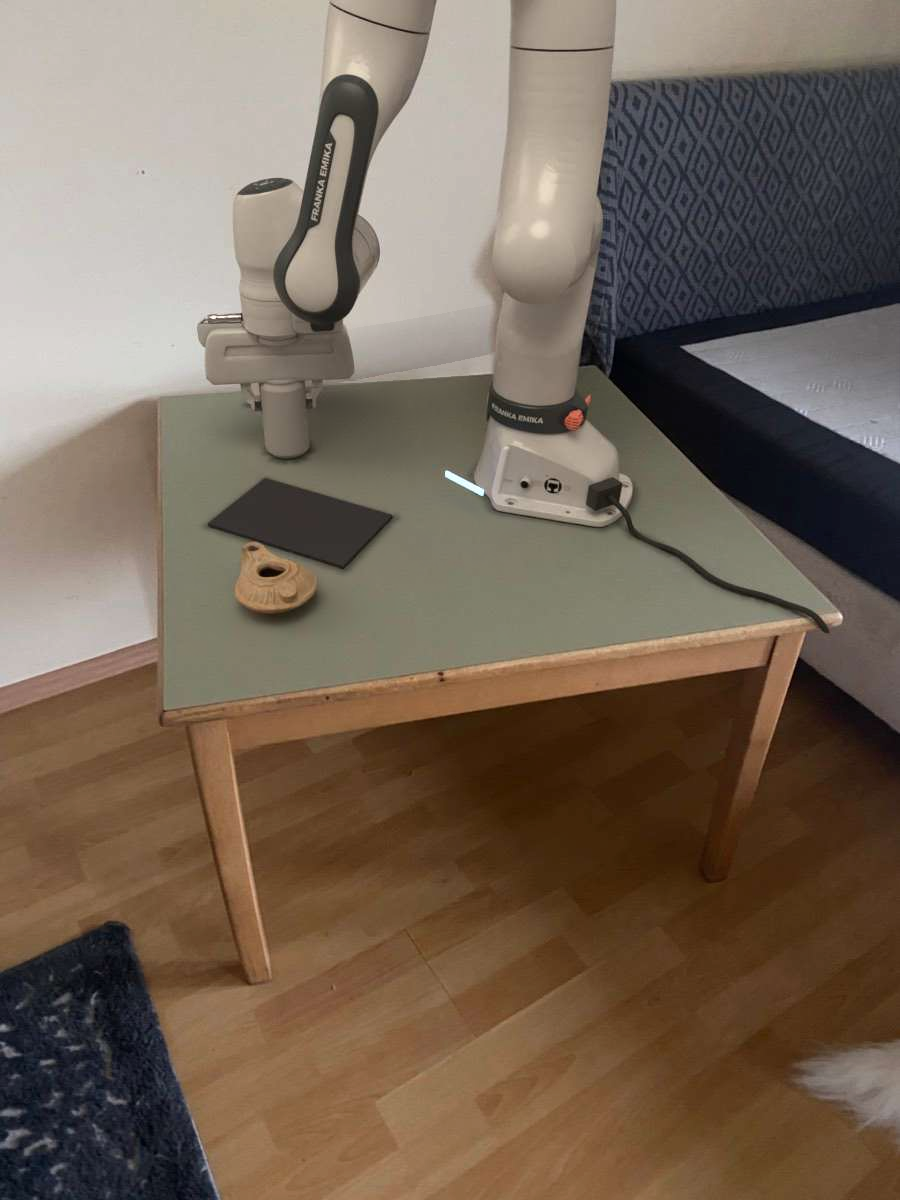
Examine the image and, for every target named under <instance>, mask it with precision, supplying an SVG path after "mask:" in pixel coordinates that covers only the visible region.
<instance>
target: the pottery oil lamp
mask: <svg viewBox="0 0 900 1200" xmlns="http://www.w3.org/2000/svg"><path fill="white" fill-rule="evenodd" d="M239 562H240V569H239V570H240V571H239V576H238V579H237V581H236V583H235V585H234V598H235V600H237V602H238V603H239V604H240V605H241V606H243V607H245V608H246V609H248V610H251V611H254V612H256V613H261V614H262V613H263V614H280V613H281V614H282V613H285V612H288V611H291V610H293V609H294V610H295V609H296V608H299V607H300V606H303V605H304V604H305V603H307V602H308V601H309V600H310V599H311V598H312V597H314V595H315V594H316V592H317V588H318V582H319V581H318V579H317V576H316V575H315V573H312V572H311V571H310V570H309V569H307V568H306V567H304V566H303V565H302V564H300V563H298V562H295V561H293V560H290V559H288V558H284V557H280V556H277V555H275V554H274V553H272V552H271V551H269V549H268V548H266V546H265V544H263V543H260V542H257V541H249V542H246V543H245V544H244V545H243V546H242V549H241V554H240V559H239Z"/></svg>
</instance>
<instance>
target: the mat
mask: <svg viewBox="0 0 900 1200" xmlns="http://www.w3.org/2000/svg"><path fill="white" fill-rule="evenodd" d="M392 519H393V514H391V513H388V512H384V511H380V510H377V509H374V508H370V507H367V506H363V505H361V504H356V503H353V502H350V501H346V500H344V499H339V498H336V497H333V496H329V495H325V494H322V493H319V492H315V491H313V490H308V489H305V488H302V487H298V486H295V485H291V484H288V483H284V482H282V481H277V480H274V479H271V478H267V477H264V478H263V479H261V480H260V481H258V483H256V484H255V485H254V486H253V487H251V488H250V489H249V490H248V491H246V492H245V493H244V494H242V495H241V496H240V497H239V498H237V499H236V500H235V501H234V502H233V503H231V504H230V505H229V506H228V507H226V508H225V509H223V510H222V511H221V512H219V513H218V514H217V515H216V516H214V518H212V519H211V520H210V521H209V522H207V526H208V527H209V528H211V529H212V528H213V529H216V530H219V531H222V532H225V533H229V534H232V535H235V536H238V537H241V538H244V539H247V540H249V541H252V542H258V543H261V544H262V545H266V546H269V547H272V548H276V549H278V550H282V551H285V552H289V553H290V554H291V553H292V554H294V555H298V556H301V557H303V558H307V559H311V560H313V561H316V562H320V563H323V564H326V565H330V566H332V567H336V568H339V569H342V570H344V569H346V567H347V566H349V564H350V563H351V562H352V561H353V560H354V559H355V558H356V557H357V555H359V554H360V553H361V551H362V550H363V549H365V547H366V546H367V545H368V544H369V543H370V542H371V541H372V540H373V539H374V538H375V537H376V536H377V535H378V534H379V533H380V531H381V530H383V528H384V527H385V526H386V525H387V524H388V523H389V522H390V521H391V520H392Z"/></svg>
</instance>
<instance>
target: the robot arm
mask: <svg viewBox="0 0 900 1200" xmlns="http://www.w3.org/2000/svg"><path fill="white" fill-rule="evenodd" d="M437 2H438V0H329V2H328V8H327V15H326V16H327V17H326V22H325V23H326V25H325V32H324V33H325V34H324V44H323V52H322V53H323V54H322V65H321V67H322V68H321V79H320V88H319V97H318V98H319V99H318V109H317V119H316V125H315V131H314V137H313V141H312V145H311V151H310V156H309V161H308V167H307V173H306V178H305V183H304V189H303V188H301V187H300V186H299V184H297V183H296V181H295V180H293V179H289V178H283V177H270V178H264V179H260V180H259V179H258V181H254V182H250V183H249V184H247V185H245V186H243V187H242V188H241V189H240V190H239V191H238V192H237V194H236V195H235V196H234V199H233V206H232V233H233V247H234V257H235V260H236V262H237V265H238V267H239V273H240V280H239V284H238V285H239V286H238V291H239V300H240V308H241V309H240V310H241V312H235V313H225V314H216V313H211V314H207V315H206V317H204V318H202V319H200V321H199V322H198V324H197V327H196V331H197V338H198V342H199V344H200V345H201V346H202V347H203V348H204V372H205V378H206V380H207V381H208V382H209V383H210V384H211V385H213V386H221V385H222V386H223V385H224V386H225V385H240V391H241V392H242V394H243V395H244V397H246V399H247V398H248V400H249V401H250V402H251V405H250V409H251V412H252V413H253V412H254V413H255V412H262V407H261V399H260V395H254V393H253V392H252V390H251V383H265V380H268V381H269V380H284V379H298V381H305V382H309V381H311V382H312V389H311V391H310V392H306V398H305V399H306V409H307V410H310V409H311V410H312V409H317V398H318V396H319V394H320V393H321V392H322V389H323V387H324V383H323V381H332V380H335V381H336V380H350V378H352V376H353V375H354V373H355V360H354V355H353V349H352V344H351V340H350V336H349V332H348V329H347V327H346V325H345V324H344V319H345V318H346V317H347V316H348V315H349V314H350V313H351V312H352V311H353V308H354V306H355V304H356V302H357V300H358V297H359V295H360V294H361V292H362V291H363V289H364V288H365V286H366V285H367V283H368V282H369V280H370V279H371V277H372V276H373V274H374V272H375V270H376V269H377V267H378V265H379V262H380V256H381V247H380V242H379V237H378V236H377V233H376V231H375V230H374V228H373V226H372V225H371V223H370V222H369V221H368V220H367V219H366V218H364V217H363V216H361V215H360V214H359V212H360V209H361V208H360V207H361V203H362V198H363V193H364V189H365V185H366V181H367V175H368V171H369V167H370V165H371V161H372V159H373V157H374V154H375V152H376V150H377V148H378V146H379V144H380V142H381V140H382V138H383V137H384V136H385V134H386V132H387V131H388V130H389V128H390V126H391V124H392V123H393V122H394V120H395V119H396V118H397V116H398V115H399V114H400V112H401V111H402V110H403V108H404V107H405V106H406V104H407V102H408V101H409V99H410V97H411V94H412V93H413V90H414V87H415V85H416V83H417V80H418V77H419V74H420V72H421V68H422V65H423V64H424V59H425V56H426V53H427V48H428V45H429V44H428V43H429V39H430V35H431V30H432V26H433V25H432V24H433V20H434V15H435V10H436V6H437ZM509 5H510V6H509V7H510V23H509V24H510V27H509V51H508V54H509V56H508V61H509V62H508V82H507V83H508V85H507V86H508V87H507V116H506V117H507V118H506V119H507V120H506V131H505V133H506V134H505V142H504V143H505V144H504V151H503V158H502V164H501V173H500V181H499V188H498V189H499V190H498V198H497V206H496V207H497V209H496V219H495V231H494V232H495V233H494V241H493V248H492V259H491V261H492V270H493V274H494V277H495V280H496V281H497V283H498V285H499V287H500V288H501V289H502V291H504V293H503V298H502V303H501V309H500V313H499V317H498V321H497V324H496V325H497V326H496V336H495V349H494V361H493V374H492V381H490V383H489V386H488V392H487V398H486V422H487V427H486V428H487V429H486V432H485V438H484V443H483V445H482V450H481V454H480V457H479V460H478V463H477V464H476V468H475V469H474V472H473V481H474V483H472V482H470V481H468V480H466V479H464V478H462V477H460V476H458V475H456V474H454V473H452V472H451V471H449V470H445V473H444V474H445V475H444V476H445V478H447V479H449V480H451V481H453V482H455V483H456V484H458V485H461V486H462V487H464V488H466V489H467V490H470V491H472V492H474V493H475V494H478V495H479V496H481V497H482V496H484V495H486V496H487V497H488V498H489V502H490V504H491V506H492V508H493V509H494V510H496V511H498V512H502V513H508V514H515V515H522V516H527V517H532V518H540V519H546V520H551V521H558V522H564V523H569V524H576V525H582V526H590V527H594V528H603V527H607V526H609V525H611V524H613V523H615V522H616V521H617V520H619V519H621V517H622V516H623V518H624V519H625V522H626V525H627V530H628V531H629V532H630V534H631V535H633V537H635V538H636V539H637V540H639V541H642V542H644V543H646V544H648V545H650V546H652V547H654V548H657V549H659V550H662V551H665V552H668V553H671V554H672V555H675V556H676V557H678V558H679V559H681V560H682V561H684V562H685V563H687V564H688V565H689V566H690V567H692V569H694V570H695V571H696V572H697V573H699V574H700V575H701V576H703V577H704V578H705V579H707V580H709V581H710V582H712V583H714V584H715V585H718V586H719V587H721V588H724V589H726V590H730V591H733V592H735V593H738V594H742V595H747V596H751V597H755V598H759V599H762V600H765V601H768V602H771V603H774V604H777V605H779V606H781V607H784V608H787V609H790V610H793V611H797V612H799V613H801V614H804V615H806V616H808V617H809V618H810V619H812V620H813V621H814V622H815V623H816V624H817V625H818V627H819V629H820V630H821V632H823V633H824V634H830V633H831V632H830V629H829V627H828V625H827V624H826V622H825V620H823V619H822V617H821V616H820V615H819V614H817V612H815V611H814V610H811V609H810V608H807V607H805V606H803V605H800V604H798V603H794V602H791V601H788V600H785V599H783V598H780V597H778V596H775V595H772V594H770V593H769V594H768V593H765V592H761V591H758V590H755V589H750V588H746V587H743V586H739V585H736V584H732V583H730V582H727V581H724V580H723V579H720V578H719V577H717V576H716V575H713V574H712V573H711V572H709V571H707V570H706V569H705V568H704V567H702V566H701V565H700V564H699V563H698V562H696V561H695V560H694V559H692V558H691V557H690V556H688V554H686V553H684V552H682V551H681V550H679V549H677V548H676V547H673V546H670V545H667V544H665V543H662V542H659V541H655V540H652V539H650V538H648V537H647V536H645V535H643V534H642V533H640V532H639V531H638V530H637V529H636V528H635V526H634V524H633V520H632V517H631V515H630V513H629V512H628V508H629V506H630V504H631V503H632V499H633V491H634V486H633V483H632V480H631V478H630V477H629V476H627V475H626V474H623V473H621V472H620V466H621V465H620V455H619V451H618V450H617V448H616V445H614V444H613V443H612V442H611V441H610V440H608V439H607V438H606V437H605V435H603V434H602V433H601V432H600V431H599V430H598V429H597V428H596V427H595V426H594V425H593V424H592V423H591V422H590V421H589V420H588V419H587V416H588V410H589V406H590V403H591V396H592V395H591V394H588V395H587V397H586V398H585V399H584V397H583V396H582V395H581V394H580V392H579V391H578V388H577V381H578V374H579V369H580V361H581V353H582V346H583V338H584V333H585V328H586V323H587V318H588V312H589V307H590V302H591V297H592V291H593V285H594V281H595V276H596V275H595V274H596V269H597V265H598V264H597V263H598V258H599V251H600V245H601V240H602V236H603V235H602V234H603V228H604V215H603V214H604V213H603V208H602V204H601V201H600V198H599V196H598V188H599V187H598V186H599V181H600V180H599V179H600V173H601V166H602V159H603V154H604V147H605V141H606V136H607V129H608V120H609V118H608V117H609V109H610V108H609V107H610V96H611V86H612V75H613V74H612V73H613V65H614V63H613V62H614V51H615V43H616V42H615V41H616V29H617V0H509Z"/></svg>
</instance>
